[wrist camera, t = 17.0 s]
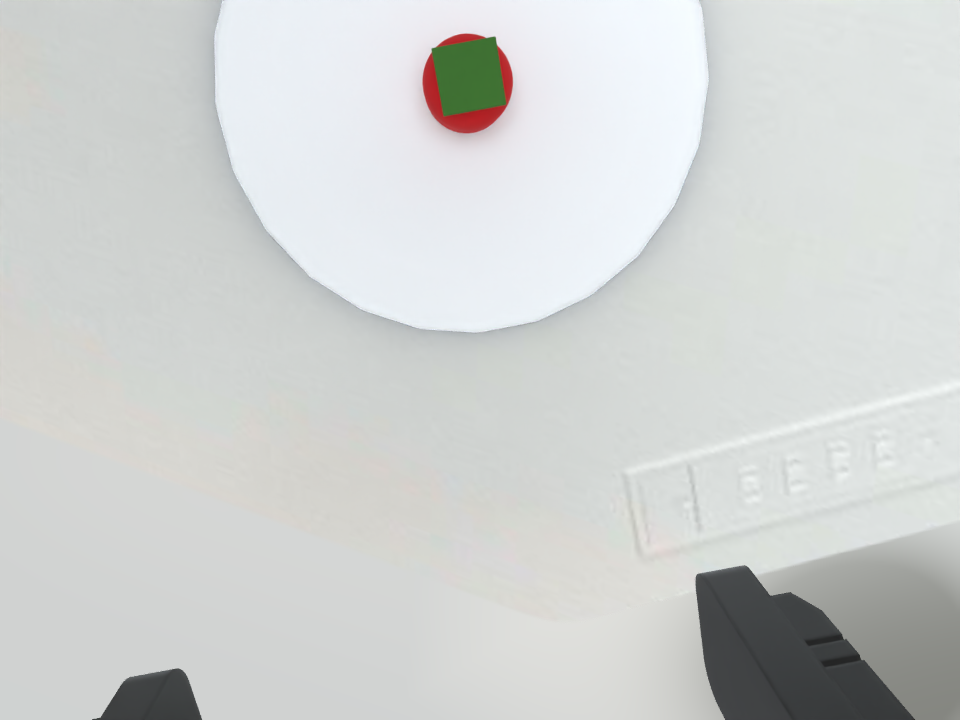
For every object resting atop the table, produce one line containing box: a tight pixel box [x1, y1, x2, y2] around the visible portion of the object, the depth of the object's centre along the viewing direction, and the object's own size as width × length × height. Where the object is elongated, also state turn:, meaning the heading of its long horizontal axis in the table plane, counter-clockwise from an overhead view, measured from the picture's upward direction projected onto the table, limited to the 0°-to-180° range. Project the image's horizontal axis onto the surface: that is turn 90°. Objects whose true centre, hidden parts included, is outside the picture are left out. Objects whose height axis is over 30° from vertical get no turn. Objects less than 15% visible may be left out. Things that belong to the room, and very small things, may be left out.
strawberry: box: [422, 33, 513, 133], centre depth 34 cm, size 4×4×5 cm
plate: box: [214, 0, 709, 333], centre depth 37 cm, size 25×25×1 cm
